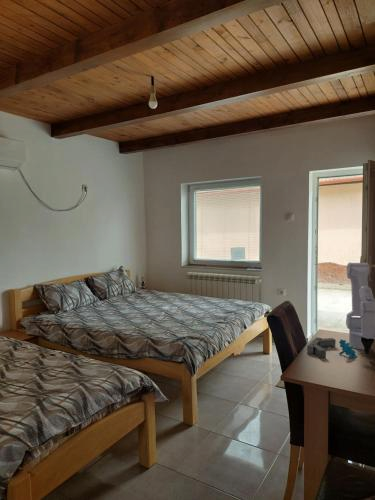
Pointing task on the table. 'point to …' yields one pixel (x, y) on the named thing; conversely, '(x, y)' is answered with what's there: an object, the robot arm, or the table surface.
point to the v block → (320, 346)
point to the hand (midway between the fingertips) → (367, 353)
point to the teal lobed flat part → (347, 349)
